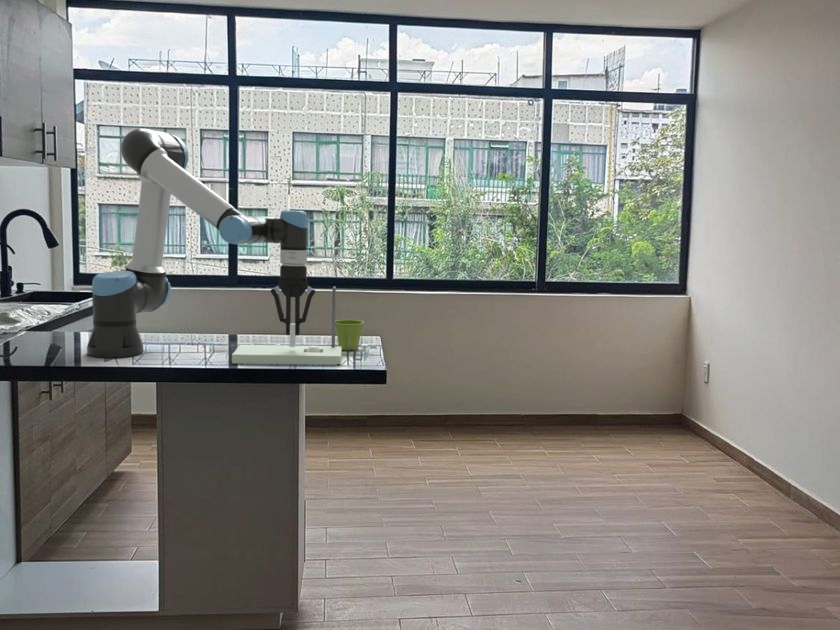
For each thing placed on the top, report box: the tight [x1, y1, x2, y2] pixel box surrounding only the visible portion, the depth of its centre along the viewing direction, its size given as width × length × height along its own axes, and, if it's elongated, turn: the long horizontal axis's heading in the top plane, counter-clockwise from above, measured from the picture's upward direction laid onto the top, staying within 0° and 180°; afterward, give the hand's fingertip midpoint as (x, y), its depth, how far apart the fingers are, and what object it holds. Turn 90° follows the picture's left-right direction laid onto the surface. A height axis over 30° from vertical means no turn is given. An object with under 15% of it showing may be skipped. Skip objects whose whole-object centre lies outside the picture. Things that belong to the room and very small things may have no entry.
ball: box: [307, 345, 320, 353], centre depth 222 cm, size 4×4×4 cm
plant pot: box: [335, 319, 364, 351], centre depth 240 cm, size 9×9×9 cm
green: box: [231, 286, 343, 366], centre depth 222 cm, size 30×20×20 cm, turn 95°
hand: (292, 346), depth 221 cm, fingers closed
